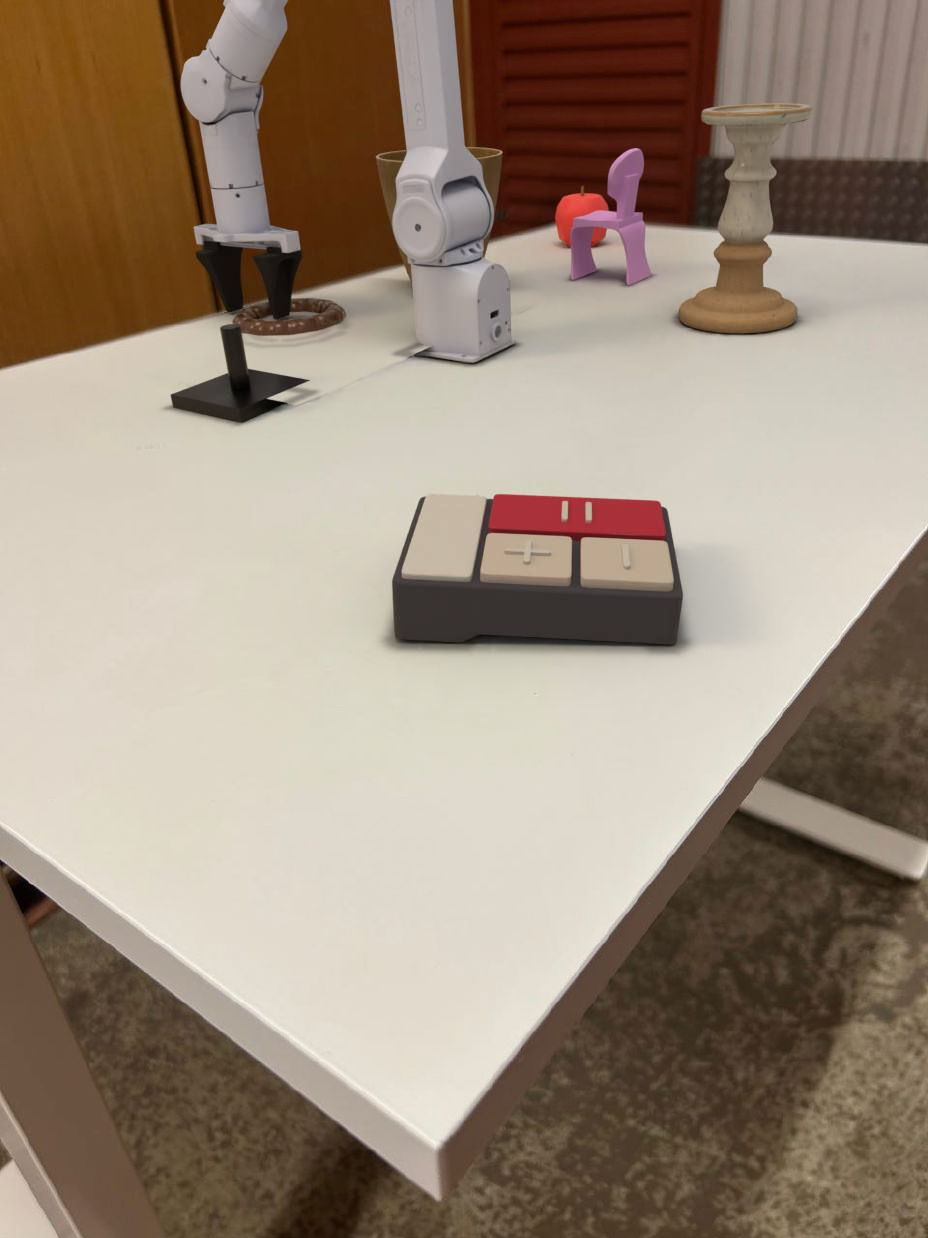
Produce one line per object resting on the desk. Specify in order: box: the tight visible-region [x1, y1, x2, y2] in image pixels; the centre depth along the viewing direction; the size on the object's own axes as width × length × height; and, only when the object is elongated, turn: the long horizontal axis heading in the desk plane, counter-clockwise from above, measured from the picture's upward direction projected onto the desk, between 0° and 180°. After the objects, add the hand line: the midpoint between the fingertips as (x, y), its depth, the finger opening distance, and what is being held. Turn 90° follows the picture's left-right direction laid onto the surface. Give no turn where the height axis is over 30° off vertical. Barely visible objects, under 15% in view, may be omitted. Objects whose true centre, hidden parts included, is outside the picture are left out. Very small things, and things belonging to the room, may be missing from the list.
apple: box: [554, 185, 610, 248], centre depth 141 cm, size 8×8×8 cm
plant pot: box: [375, 146, 504, 284], centre depth 116 cm, size 15×15×16 cm
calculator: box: [391, 493, 684, 645], centre depth 54 cm, size 11×4×15 cm
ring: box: [231, 297, 347, 337], centre depth 108 cm, size 12×12×2 cm
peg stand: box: [170, 323, 311, 423], centre depth 87 cm, size 9×9×7 cm
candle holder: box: [678, 102, 814, 334], centre depth 98 cm, size 12×12×20 cm
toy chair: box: [570, 147, 652, 286], centre depth 119 cm, size 8×9×15 cm
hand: (257, 313), depth 110 cm, fingers open, 7 cm apart
